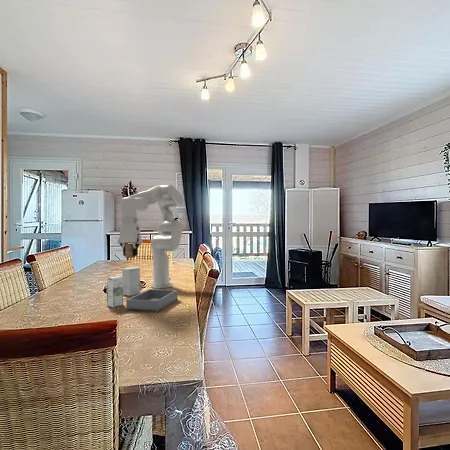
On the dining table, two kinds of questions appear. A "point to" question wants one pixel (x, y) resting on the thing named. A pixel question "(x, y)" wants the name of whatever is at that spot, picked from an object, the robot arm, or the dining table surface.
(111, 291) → the syrup box
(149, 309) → the tray
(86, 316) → the dining table surface
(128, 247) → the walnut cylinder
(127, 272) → the skincare box
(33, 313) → the dining table surface
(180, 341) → the dining table surface
